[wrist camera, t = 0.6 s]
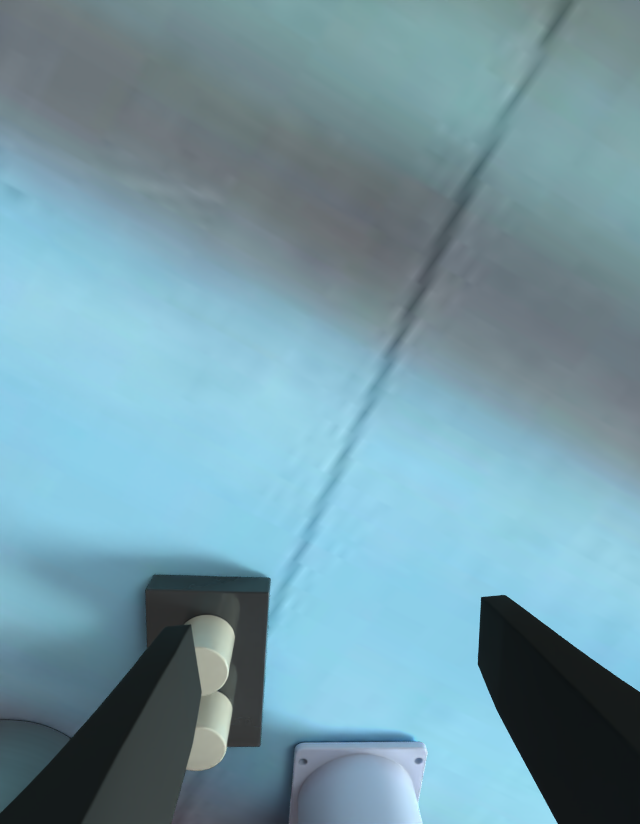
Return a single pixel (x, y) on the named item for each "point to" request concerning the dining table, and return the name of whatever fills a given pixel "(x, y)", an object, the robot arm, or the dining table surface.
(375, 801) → the robot arm
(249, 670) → the sushi plate
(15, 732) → the steel pot
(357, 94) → the dining table surface
